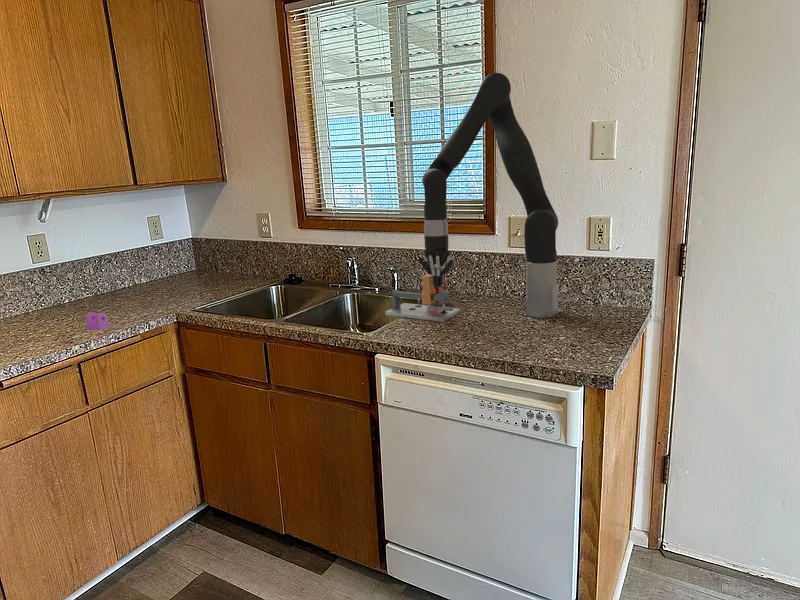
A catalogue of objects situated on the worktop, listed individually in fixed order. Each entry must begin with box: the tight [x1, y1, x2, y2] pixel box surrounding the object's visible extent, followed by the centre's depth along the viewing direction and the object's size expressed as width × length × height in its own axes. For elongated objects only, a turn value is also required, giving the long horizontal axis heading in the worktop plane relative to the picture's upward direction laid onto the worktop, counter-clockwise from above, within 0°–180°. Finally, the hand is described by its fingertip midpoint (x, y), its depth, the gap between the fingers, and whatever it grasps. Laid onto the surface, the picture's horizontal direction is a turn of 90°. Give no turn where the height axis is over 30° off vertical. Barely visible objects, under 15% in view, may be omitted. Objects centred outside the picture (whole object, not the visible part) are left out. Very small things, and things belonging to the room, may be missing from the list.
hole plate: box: [384, 302, 462, 323], centre depth 188 cm, size 22×12×1 cm, turn 58°
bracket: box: [85, 311, 110, 331], centre depth 183 cm, size 13×6×7 cm, turn 161°
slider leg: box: [421, 274, 436, 310], centre depth 185 cm, size 3×4×12 cm
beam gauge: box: [390, 290, 450, 313], centre depth 187 cm, size 20×4×7 cm, turn 58°
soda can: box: [424, 270, 447, 307], centre depth 198 cm, size 7×7×13 cm
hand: (438, 286), depth 182 cm, fingers closed
